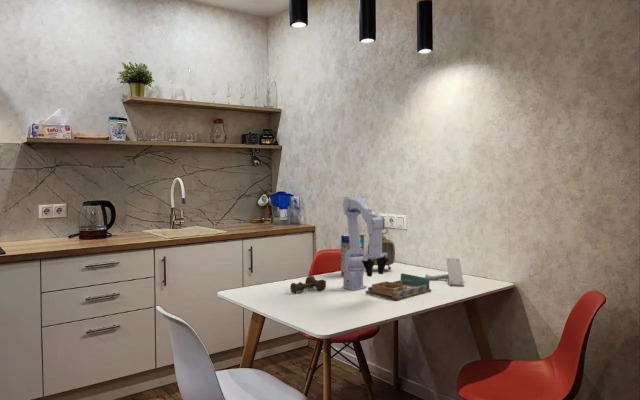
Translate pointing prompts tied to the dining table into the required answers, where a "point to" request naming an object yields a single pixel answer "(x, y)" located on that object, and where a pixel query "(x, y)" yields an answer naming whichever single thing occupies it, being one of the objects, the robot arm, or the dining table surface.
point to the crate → (387, 288)
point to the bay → (413, 284)
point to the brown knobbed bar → (308, 285)
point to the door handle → (451, 273)
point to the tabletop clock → (386, 250)
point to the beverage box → (346, 247)
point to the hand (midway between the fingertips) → (375, 275)
